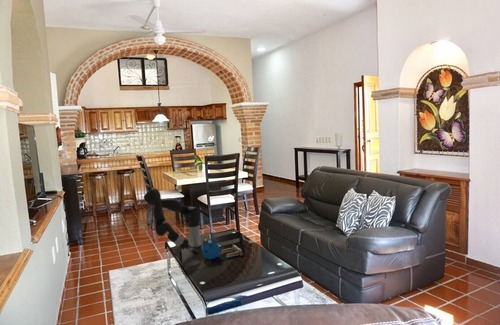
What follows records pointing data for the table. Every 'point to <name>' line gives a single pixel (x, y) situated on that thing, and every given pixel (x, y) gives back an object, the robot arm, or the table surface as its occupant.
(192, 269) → the table surface
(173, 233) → the robot arm
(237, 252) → the wooden staple shape
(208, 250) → the alarm clock
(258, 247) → the table surface
